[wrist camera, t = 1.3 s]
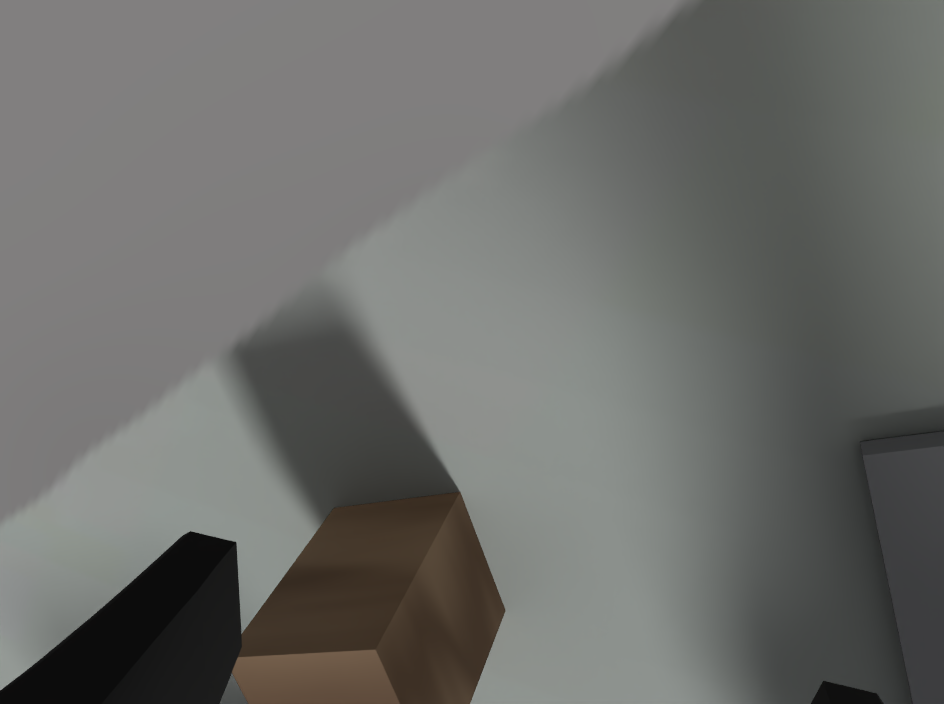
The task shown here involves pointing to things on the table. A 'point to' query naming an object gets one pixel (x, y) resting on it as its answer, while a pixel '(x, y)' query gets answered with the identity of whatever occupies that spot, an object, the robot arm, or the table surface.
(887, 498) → the pad
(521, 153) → the table surface
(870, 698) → the robot arm
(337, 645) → the block
